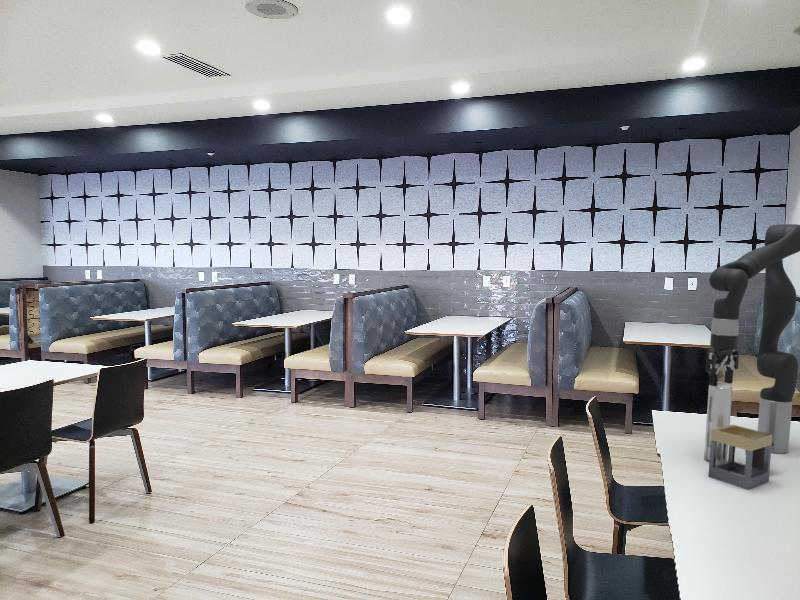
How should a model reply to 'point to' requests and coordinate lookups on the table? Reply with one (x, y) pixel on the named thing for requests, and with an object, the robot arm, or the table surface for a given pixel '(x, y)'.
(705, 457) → the silver metal cylinder
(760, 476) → the collar stand
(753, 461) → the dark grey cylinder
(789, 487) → the table surface
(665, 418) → the table surface
